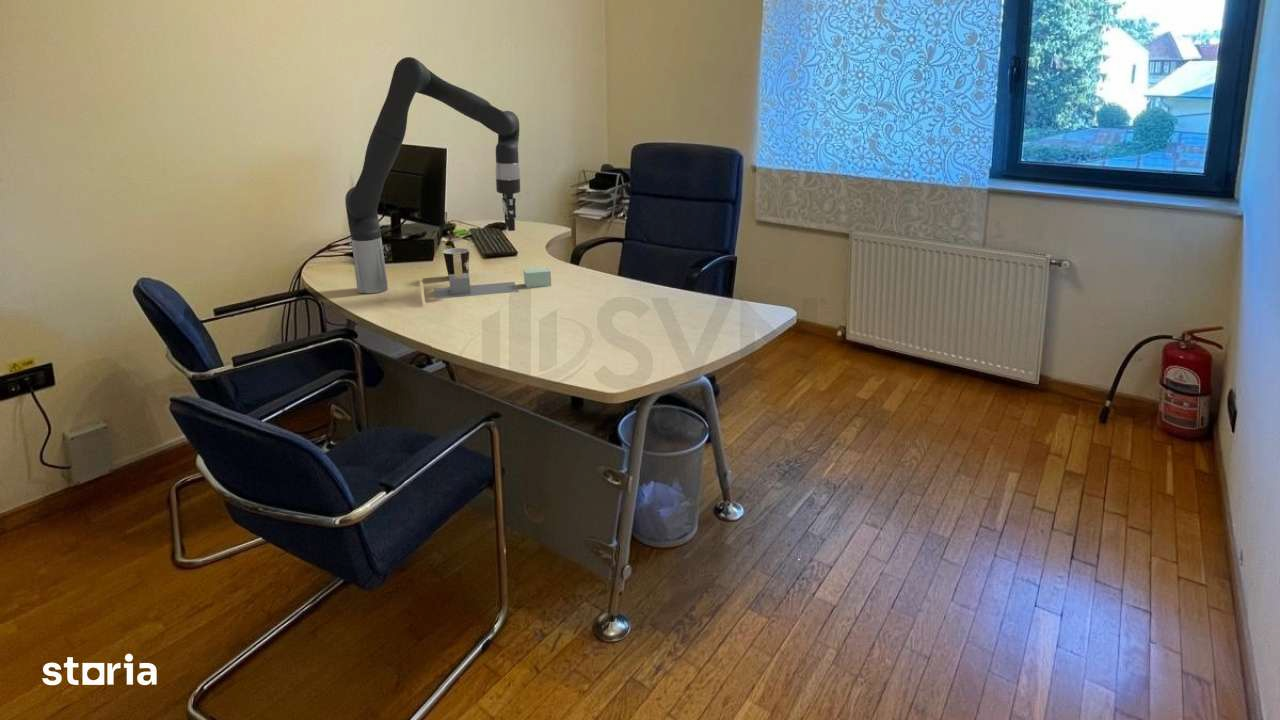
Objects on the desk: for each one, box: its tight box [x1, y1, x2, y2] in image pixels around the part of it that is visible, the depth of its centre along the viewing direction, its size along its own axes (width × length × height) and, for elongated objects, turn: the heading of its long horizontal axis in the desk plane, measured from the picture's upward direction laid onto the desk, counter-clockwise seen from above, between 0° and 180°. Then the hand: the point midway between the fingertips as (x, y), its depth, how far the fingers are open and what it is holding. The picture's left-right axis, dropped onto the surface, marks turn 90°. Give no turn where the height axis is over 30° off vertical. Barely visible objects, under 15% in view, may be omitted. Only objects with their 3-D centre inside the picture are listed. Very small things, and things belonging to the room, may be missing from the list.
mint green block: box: [523, 267, 552, 289], centre depth 262 cm, size 8×5×6 cm, turn 106°
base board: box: [433, 273, 520, 300], centre depth 256 cm, size 26×12×6 cm, turn 106°
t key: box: [453, 252, 463, 278], centre depth 253 cm, size 14×2×6 cm, turn 13°
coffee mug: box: [443, 247, 470, 277], centre depth 272 cm, size 12×9×10 cm
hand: (509, 228), depth 259 cm, fingers open, 8 cm apart
